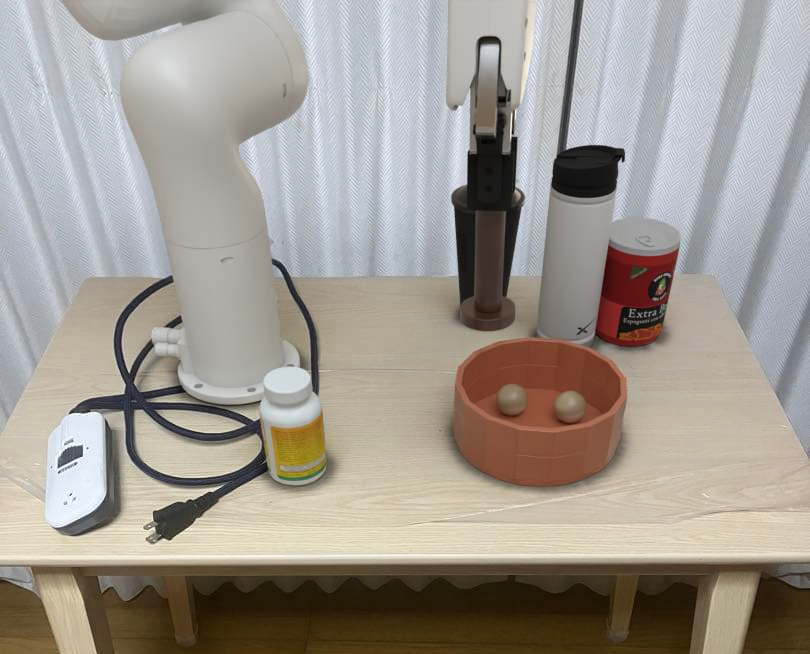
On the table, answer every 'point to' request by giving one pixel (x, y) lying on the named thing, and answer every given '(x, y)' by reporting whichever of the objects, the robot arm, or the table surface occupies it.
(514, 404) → the bead
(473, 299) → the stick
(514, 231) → the drinking cup
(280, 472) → the supplement bottle
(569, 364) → the bowl
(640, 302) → the canned food
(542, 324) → the travel mug
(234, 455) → the table surface
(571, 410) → the bead
